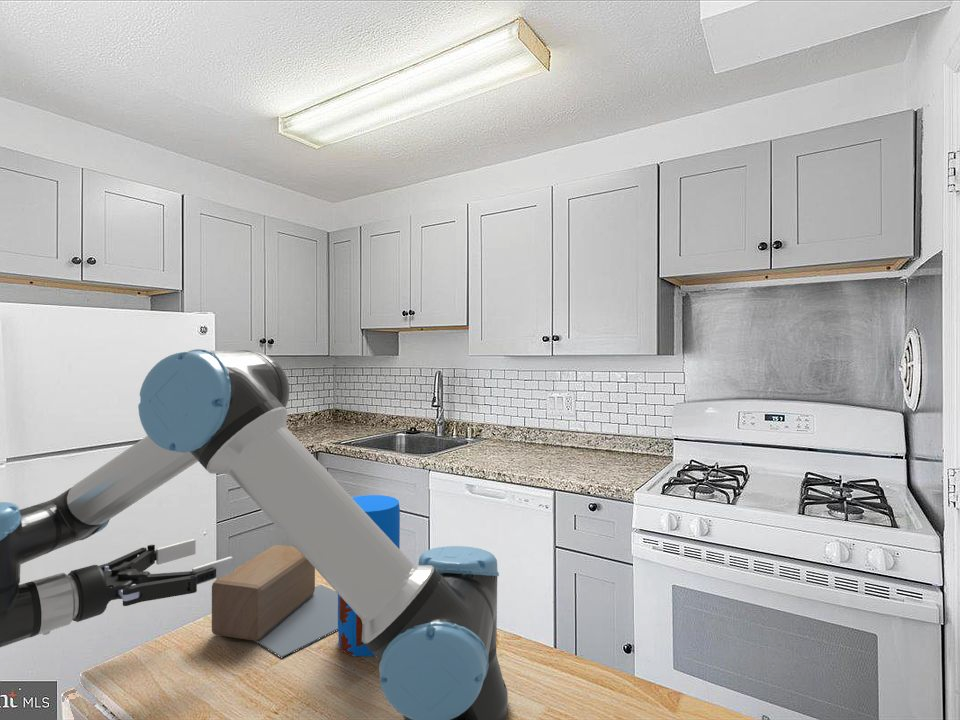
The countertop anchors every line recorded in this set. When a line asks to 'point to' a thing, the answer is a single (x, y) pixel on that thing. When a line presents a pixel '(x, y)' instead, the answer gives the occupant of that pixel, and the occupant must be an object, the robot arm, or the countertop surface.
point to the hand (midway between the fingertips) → (212, 555)
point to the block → (261, 593)
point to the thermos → (388, 521)
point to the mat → (304, 623)
